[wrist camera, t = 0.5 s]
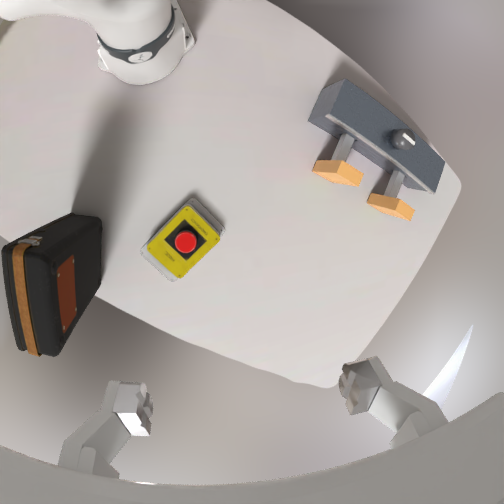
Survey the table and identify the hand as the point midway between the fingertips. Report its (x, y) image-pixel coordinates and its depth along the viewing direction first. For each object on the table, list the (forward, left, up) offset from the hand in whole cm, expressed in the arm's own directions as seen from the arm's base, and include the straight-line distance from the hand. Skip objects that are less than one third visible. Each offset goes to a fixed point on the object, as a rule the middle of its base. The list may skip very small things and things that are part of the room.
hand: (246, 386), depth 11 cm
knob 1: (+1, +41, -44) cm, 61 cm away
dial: (-8, +39, -35) cm, 53 cm away
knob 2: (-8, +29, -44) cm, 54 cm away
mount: (-8, +39, -45) cm, 60 cm away
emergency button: (+5, -4, -45) cm, 46 cm away
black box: (+2, -24, -45) cm, 51 cm away
